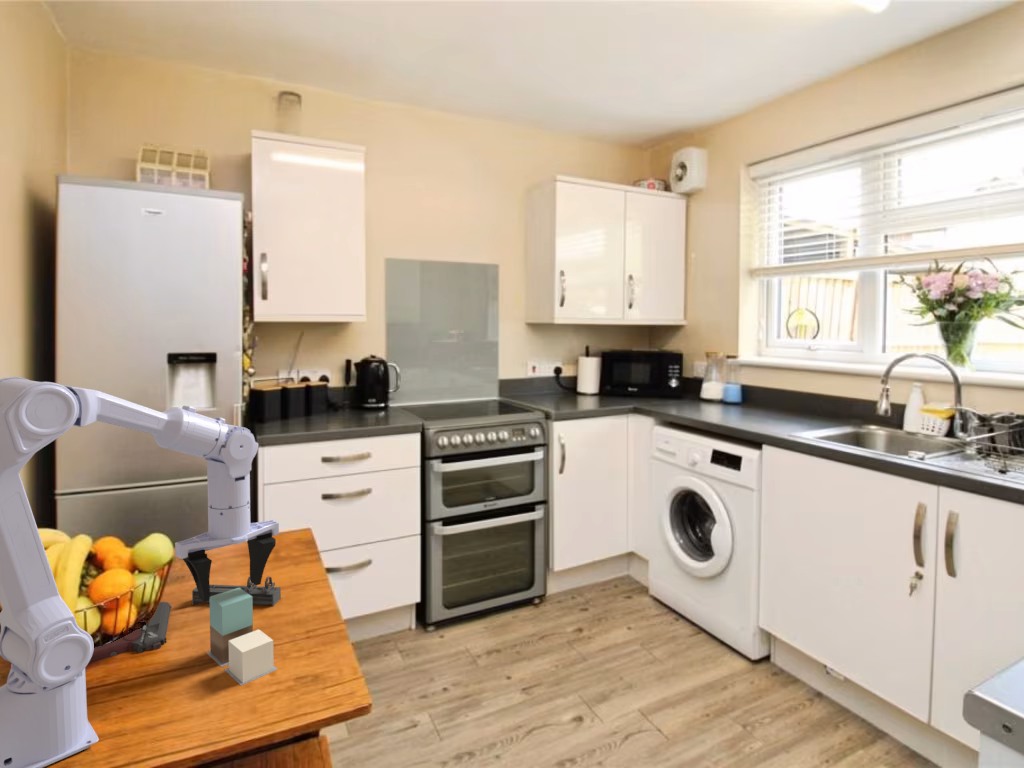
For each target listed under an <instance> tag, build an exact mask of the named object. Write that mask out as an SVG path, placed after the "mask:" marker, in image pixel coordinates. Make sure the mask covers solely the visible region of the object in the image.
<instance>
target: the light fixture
mask: <svg viewBox="0 0 1024 768" xmlns="http://www.w3.org/2000/svg"><path fill="white" fill-rule="evenodd" d="M272 580H273V578H272V576H267V577H266V578H265V581H264V586H260V585H255V584H254V583H252V582H251V580H250V576H248V578H247V580H246V585H231V584H230V585H229V584H209V585H210V597H211V596H214V595H217V594H220V593H223V592H227V591H230V590H233V589H236V588H241V589H242V590H244V591H245V592H246V593H248V594H249V595H251V596H252V597H253V605H255V606H256V605H258V606H259V605H261V606H272V607H274V606H275V605H276V604H277V603H278V602H279V601H280V600H281V597H282V596H281V594H282V593H281V591H282V589H281V586H276V582H273V581H272ZM191 594H192V595H191V596H192V601H191V602H192V606H193V607H194V606H197V605H200V604H203V603H209V604H210V601H205V602H204V601H203V600H201V599H200V598H199V594H198V590H197V586H196V587H195V588H194V589H192V591H191Z"/></svg>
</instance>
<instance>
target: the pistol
mask: <svg viewBox="0 0 1024 768" xmlns="http://www.w3.org/2000/svg"><path fill="white" fill-rule="evenodd" d="M158 603H159V602H158ZM171 608H173V607H172V605H171V604H170V603H169V602H167V601H160V603H159V605H158V607H157V609H156V611H155V613H154V615H153V617H152V618H151V619H150V621H149V622H148V623H147V624H146V625H145V624H144V625H143V626H141V627H142V628H140V627H139V628H140V629H137V630H135V631H133V632H132V633H130V634H128V635H126V636H124V637H122V638H120V639H118V640H116V641H114V642H112V643H108V644H106V645H103V646H98V647H95V648H94V650H93V654H92V657H91V659H90V661H89V663H92V662H96V661H100V660H101V661H102V660H104V659H108V658H111V657H114V656H118V655H120V654H124V653H127V652H128V653H129V652H134V651H135V652H137V654H142V653H144V652H147V651H151V650H154V651H155V650H159V649H161V648H162V646H163V645H165V644H166V643H167V642H168V641H167V632H168V631H167V630H168V626H169V619H170V615H171V614H170V612H171Z"/></svg>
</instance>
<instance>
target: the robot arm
mask: <svg viewBox="0 0 1024 768" xmlns="http://www.w3.org/2000/svg"><path fill="white" fill-rule="evenodd" d="M196 412H197V408H196V407H192V406H189V405H183V406H182V407H179V406H174V407H170V408H169V409H166V410H164V411H162V412H161V411H158V410H155V409H153V408H150V407H146V406H145V405H141V404H138V403H135V402H132V401H129V400H127V399H124V398H120V397H118V396H115V395H112V394H108V393H107V392H103V391H100V390H96V389H90V388H84V387H77V386H71V385H63V384H59V383H56V382H51V381H35V380H30V379H28V378H26V377H19V376H7V377H3V378H0V607H1V608H2V609H1V612H0V657H1V658H3V659H4V660H5V661H6V662H9V663H11V664H10V667H11V668H10V670H9V673H8V676H7V679H6V683H5V684H3V685H1V686H0V768H45V767H47V766H49V765H51V764H54V763H56V762H58V761H61V760H63V759H66V758H68V757H70V756H72V755H75V754H77V753H79V752H81V751H83V750H87V749H88V748H91V746H92V745H94V744H96V743H98V742H99V741H100V739H99V737H98V734H97V732H96V731H95V730H94V728H93V726H92V725H91V723H90V721H89V720H88V705H87V703H88V702H87V684H86V683H87V680H86V679H87V678H86V668H87V666H88V664H89V663H90V662H89V661H90V659H91V657H92V654H93V650H94V639H93V637H92V636H91V634H89V632H87V630H84V629H82V628H81V627H80V626H79V625H78V623H77V620H76V617H75V615H74V613H73V612H72V611H71V609H70V608H69V605H67V603H66V602H65V600H64V599H63V598H62V597H61V595H60V593H59V589H58V586H57V582H56V580H55V577H54V574H53V570H52V567H51V565H50V561H49V559H48V555H47V552H46V549H45V547H44V544H43V543H44V542H43V541H42V537H41V535H40V531H39V529H38V526H37V523H36V520H35V516H34V514H33V511H32V510H33V509H32V507H31V503H30V502H29V498H28V496H27V492H26V489H25V486H24V483H23V480H22V478H21V475H20V473H21V470H22V469H23V468H24V467H25V465H26V464H27V463H28V462H29V461H30V460H31V459H32V457H33V456H35V454H36V453H37V452H39V451H40V450H42V449H43V448H44V447H46V446H48V445H49V444H51V443H52V442H54V441H55V440H57V439H58V438H60V437H62V436H63V435H64V434H65V433H66V432H68V431H69V430H70V429H71V428H72V427H73V426H75V427H77V428H78V427H79V428H83V427H86V426H88V425H91V424H93V423H96V422H100V423H104V424H108V425H113V426H116V427H122V428H125V429H130V430H133V431H138V432H143V433H145V434H150V435H152V437H153V440H154V441H155V443H156V445H157V446H158V447H160V448H163V449H167V450H170V451H174V452H178V453H182V454H186V455H189V456H194V457H197V458H202V459H204V460H206V469H207V470H206V471H207V472H206V473H207V477H206V478H207V479H206V480H207V517H208V518H207V522H208V523H207V525H208V526H207V529H208V531H205V532H203V533H201V534H198V535H195V536H192V537H190V538H186V539H184V540H181V541H176V542H175V543H174V549H175V550H174V552H175V553H174V554H175V557H177V558H178V559H179V560H183V562H184V563H185V565H186V566H187V569H189V571H190V574H191V576H192V578H193V580H194V583H195V586H196V587H197V590H198V594H199V598H200V599H201V600H203V601H204V603H206V602H205V601H209V599H210V585H211V584H210V577H211V576H210V575H211V568H212V567H211V566H212V562H213V560H212V559H211V558H209V557H208V553H206V552H207V551H212V550H215V549H220V548H223V547H228V546H231V545H239V544H244V543H247V548H248V554H249V556H248V557H249V577H250V582H252V583H254V584H255V585H257V586H260V585H261V584H262V579H263V574H264V570H265V567H266V564H267V562H268V560H269V558H270V556H271V554H272V552H273V550H274V549H275V547H276V541H277V540H276V538H275V537H273V536H278V535H279V534H280V523H279V522H278V521H277V520H274V519H270V520H265V521H257V522H251V479H250V478H251V475H250V474H251V473H250V472H251V471H252V463H253V461H254V458H255V457H256V455H257V453H258V449H259V443H258V442H257V441H256V439H255V436H254V433H252V432H251V430H250V429H248V428H247V427H244V426H239V425H233V424H227V423H226V419H225V418H223V417H220V416H215V417H214V418H213V417H210V416H206V415H204V414H203V415H202V414H200V413H196Z"/></svg>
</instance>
